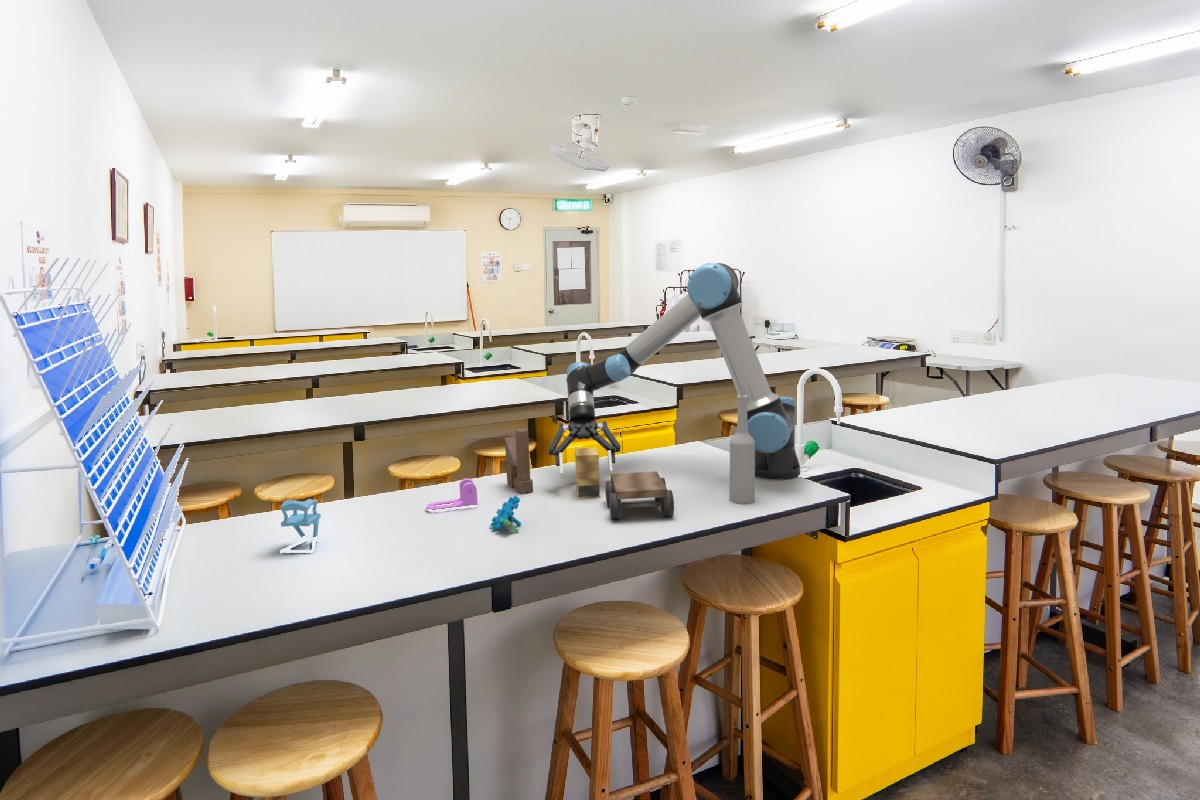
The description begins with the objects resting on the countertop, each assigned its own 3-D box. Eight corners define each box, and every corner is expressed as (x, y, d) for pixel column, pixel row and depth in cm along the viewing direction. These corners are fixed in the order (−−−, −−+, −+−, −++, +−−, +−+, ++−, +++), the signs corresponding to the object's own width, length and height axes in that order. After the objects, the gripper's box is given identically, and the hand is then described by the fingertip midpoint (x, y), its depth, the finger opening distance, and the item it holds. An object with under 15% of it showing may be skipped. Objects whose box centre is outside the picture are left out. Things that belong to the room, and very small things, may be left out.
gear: (488, 514, 184) (515, 487, 182) (506, 528, 186) (533, 501, 184) (487, 536, 174) (516, 507, 172) (506, 550, 175) (534, 522, 174)
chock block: (597, 488, 208) (596, 447, 206) (599, 497, 200) (598, 454, 198) (576, 489, 208) (574, 448, 206) (577, 498, 200) (576, 456, 198)
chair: (327, 540, 174) (322, 492, 172) (312, 553, 166) (307, 503, 164) (295, 541, 175) (290, 492, 173) (279, 554, 167) (273, 503, 165)
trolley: (662, 497, 198) (662, 470, 197) (674, 519, 181) (673, 489, 180) (605, 500, 197) (604, 473, 196) (612, 522, 180) (611, 493, 179)
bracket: (474, 502, 200) (472, 477, 199) (477, 508, 195) (476, 482, 194) (425, 508, 196) (423, 483, 195) (427, 514, 191) (425, 489, 190)
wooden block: (518, 483, 216) (515, 423, 213) (533, 492, 207) (530, 429, 204) (506, 485, 214) (503, 424, 211) (521, 494, 205) (518, 431, 202)
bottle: (724, 498, 196) (724, 395, 191) (744, 494, 199) (744, 392, 194) (739, 505, 190) (740, 399, 185) (760, 501, 193) (760, 396, 188)
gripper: (623, 415, 218) (630, 478, 206) (539, 419, 216) (541, 483, 204) (625, 401, 212) (632, 465, 200) (538, 404, 210) (540, 469, 198)
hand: (586, 474), depth 202 cm, fingers open, 13 cm apart
